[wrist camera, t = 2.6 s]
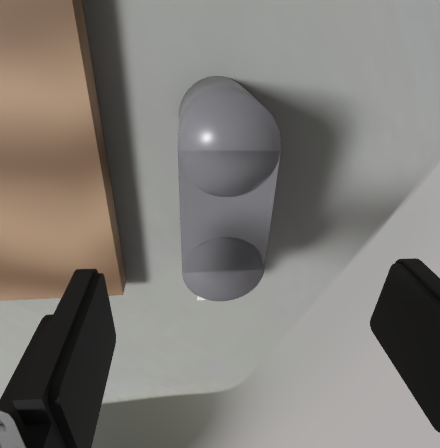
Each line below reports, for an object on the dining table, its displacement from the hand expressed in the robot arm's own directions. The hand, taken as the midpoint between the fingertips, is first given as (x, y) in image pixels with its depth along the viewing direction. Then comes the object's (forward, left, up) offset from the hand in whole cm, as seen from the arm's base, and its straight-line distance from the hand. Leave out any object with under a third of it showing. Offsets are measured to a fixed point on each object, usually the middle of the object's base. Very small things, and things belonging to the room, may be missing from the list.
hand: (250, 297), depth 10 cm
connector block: (-1, 0, -10) cm, 10 cm away
